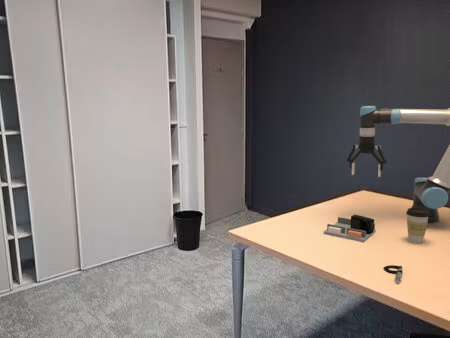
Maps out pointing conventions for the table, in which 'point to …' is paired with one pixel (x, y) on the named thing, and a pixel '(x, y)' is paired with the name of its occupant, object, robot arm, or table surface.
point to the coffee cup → (417, 224)
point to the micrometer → (395, 272)
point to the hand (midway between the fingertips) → (366, 175)
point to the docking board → (347, 230)
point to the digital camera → (362, 223)
